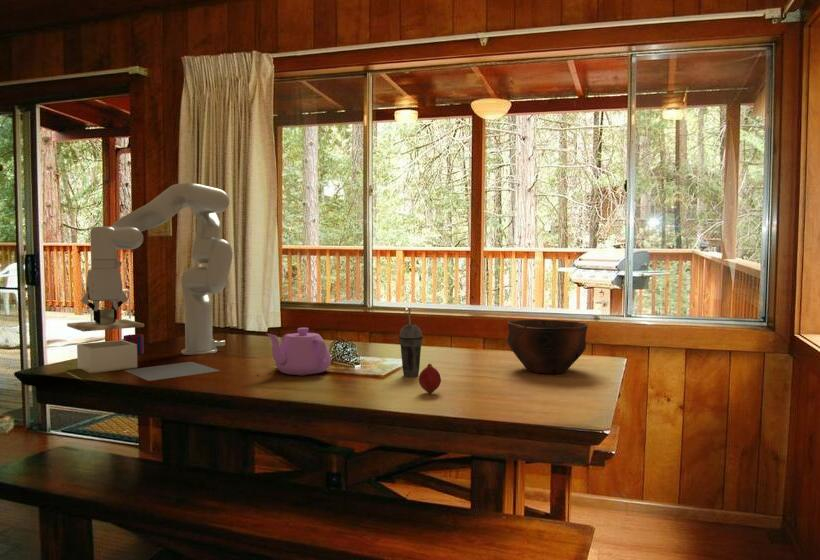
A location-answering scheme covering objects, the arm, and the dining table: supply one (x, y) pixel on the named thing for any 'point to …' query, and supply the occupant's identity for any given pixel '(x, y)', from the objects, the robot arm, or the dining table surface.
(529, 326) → the bowl
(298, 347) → the teapot
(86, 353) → the basin
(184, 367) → the mat
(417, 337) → the beverage cup
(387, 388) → the dining table surface
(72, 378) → the dining table surface
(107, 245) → the robot arm
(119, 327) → the lid
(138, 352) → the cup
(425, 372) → the onion
